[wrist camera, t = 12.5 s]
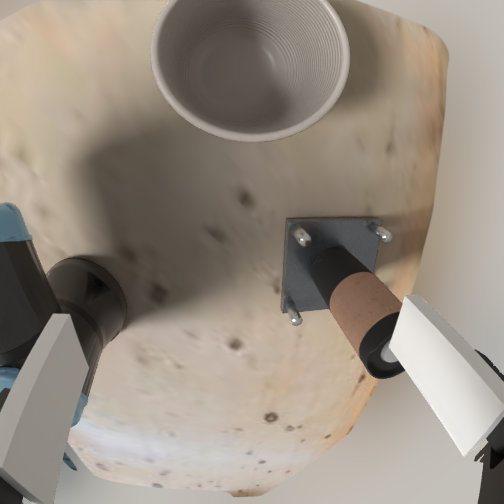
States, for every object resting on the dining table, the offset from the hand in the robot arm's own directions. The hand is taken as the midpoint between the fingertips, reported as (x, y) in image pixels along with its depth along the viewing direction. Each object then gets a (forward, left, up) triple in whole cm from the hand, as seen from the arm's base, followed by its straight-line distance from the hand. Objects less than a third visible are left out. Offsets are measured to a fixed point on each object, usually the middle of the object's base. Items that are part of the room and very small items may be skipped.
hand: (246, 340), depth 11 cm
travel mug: (+17, -13, -30) cm, 37 cm away
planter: (+3, +14, -32) cm, 35 cm away
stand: (+17, -13, -32) cm, 38 cm away
